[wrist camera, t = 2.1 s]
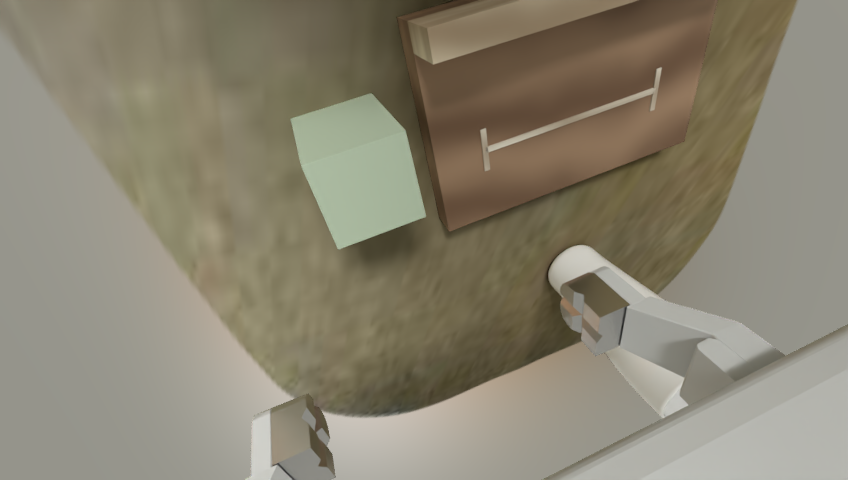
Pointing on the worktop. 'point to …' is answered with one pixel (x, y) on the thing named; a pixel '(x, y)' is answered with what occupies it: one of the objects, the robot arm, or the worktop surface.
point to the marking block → (358, 169)
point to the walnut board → (547, 92)
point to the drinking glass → (640, 373)
